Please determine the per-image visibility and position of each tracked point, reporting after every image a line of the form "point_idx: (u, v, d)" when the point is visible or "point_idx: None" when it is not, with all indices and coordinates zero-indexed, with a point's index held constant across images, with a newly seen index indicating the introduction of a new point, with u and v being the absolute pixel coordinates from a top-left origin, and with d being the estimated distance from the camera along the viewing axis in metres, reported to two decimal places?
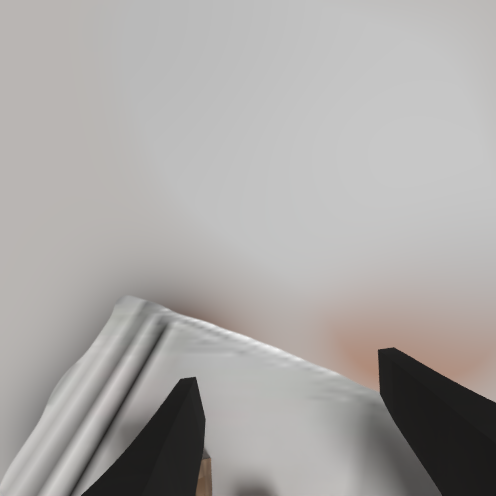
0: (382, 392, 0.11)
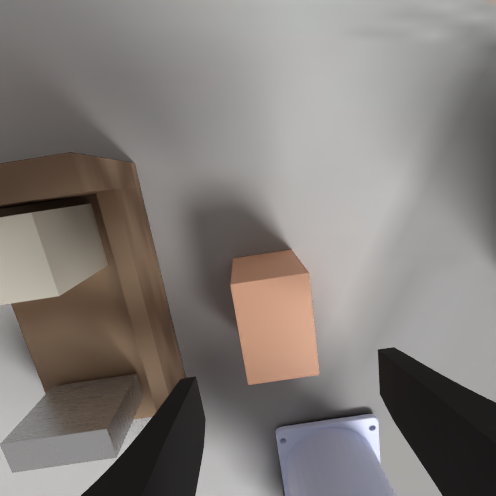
0: (382, 392, 0.11)
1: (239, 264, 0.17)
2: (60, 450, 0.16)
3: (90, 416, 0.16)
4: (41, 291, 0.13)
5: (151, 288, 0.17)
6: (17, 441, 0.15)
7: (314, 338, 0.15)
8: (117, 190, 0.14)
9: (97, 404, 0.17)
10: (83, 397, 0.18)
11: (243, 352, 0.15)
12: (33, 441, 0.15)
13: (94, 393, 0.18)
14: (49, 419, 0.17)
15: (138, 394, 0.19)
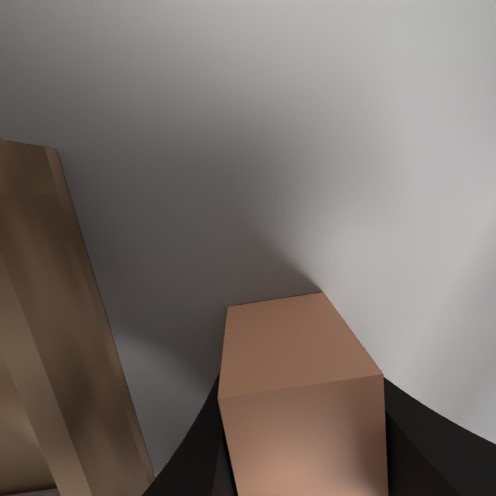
0: None
1: (237, 326, 0.10)
2: None
3: None
4: None
5: (83, 369, 0.10)
6: None
7: (385, 491, 0.08)
8: None
9: None
10: None
11: None
12: None
13: None
14: None
15: None
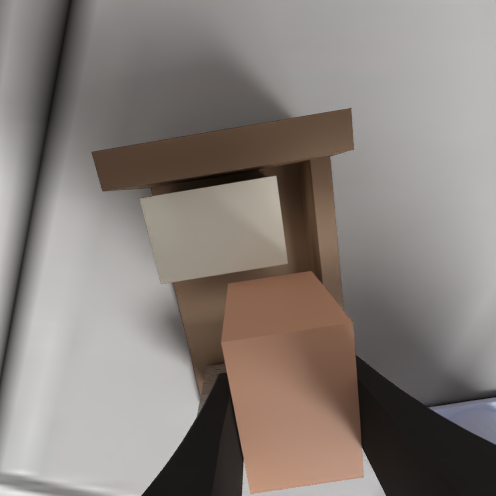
0: None
1: (237, 296, 0.12)
2: None
3: None
4: (270, 258, 0.13)
5: None
6: None
7: (358, 424, 0.09)
8: None
9: None
10: None
11: (243, 446, 0.09)
12: None
13: None
14: None
15: None
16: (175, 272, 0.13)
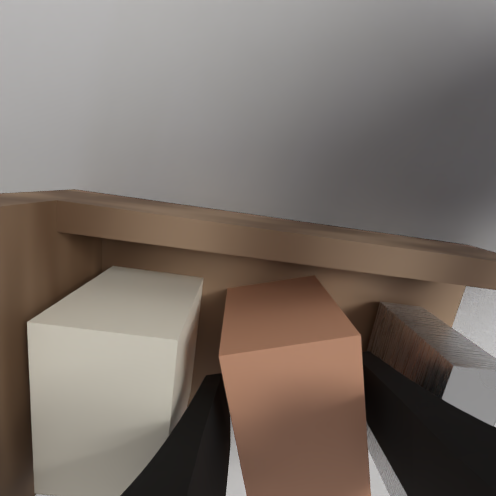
0: None
1: (236, 303, 0.11)
2: None
3: (417, 382, 0.10)
4: (162, 362, 0.08)
5: (247, 220, 0.10)
6: None
7: (365, 441, 0.09)
8: (64, 200, 0.09)
9: (401, 367, 0.11)
10: None
11: (242, 464, 0.09)
12: None
13: None
14: None
15: (414, 310, 0.12)
16: None
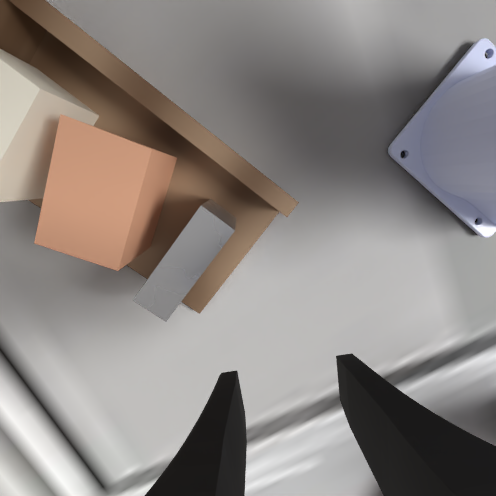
0: (341, 398, 0.11)
1: None
2: (183, 264, 0.14)
3: None
4: (24, 98, 0.12)
5: None
6: (143, 286, 0.14)
7: (128, 227, 0.13)
8: None
9: None
10: None
11: (44, 202, 0.13)
12: (154, 273, 0.14)
13: None
14: None
15: (227, 212, 0.17)
16: None
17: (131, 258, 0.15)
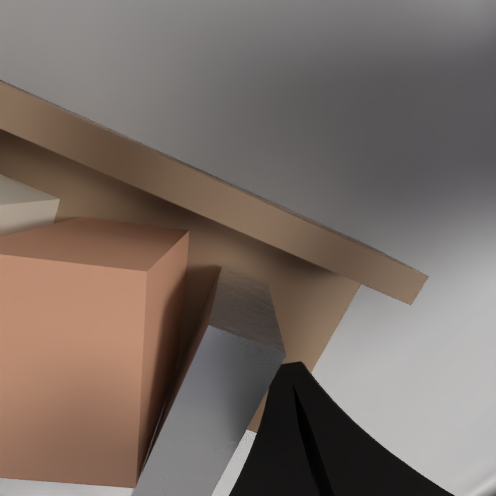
0: None
1: (68, 225, 0.09)
2: (202, 432, 0.07)
3: (193, 349, 0.08)
4: None
5: (104, 128, 0.08)
6: (140, 479, 0.08)
7: (137, 416, 0.07)
8: None
9: (197, 333, 0.09)
10: (187, 352, 0.10)
11: None
12: (153, 457, 0.07)
13: (194, 335, 0.10)
14: (163, 414, 0.09)
15: (253, 283, 0.10)
16: None
17: (154, 429, 0.09)
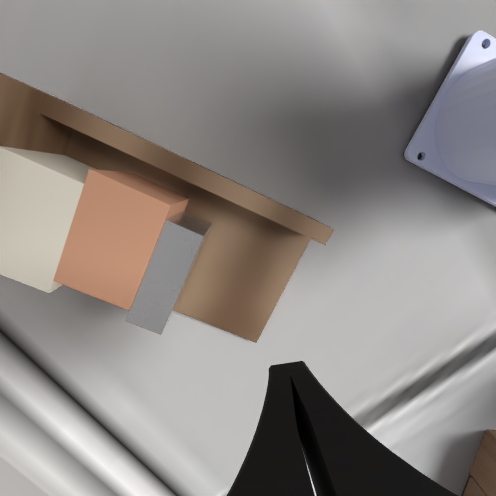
0: None
1: (126, 174, 0.16)
2: (164, 278, 0.14)
3: None
4: (72, 195, 0.13)
5: None
6: (133, 306, 0.15)
7: (142, 272, 0.14)
8: (49, 95, 0.14)
9: None
10: None
11: (66, 245, 0.14)
12: (139, 291, 0.15)
13: None
14: None
15: (201, 219, 0.18)
16: (44, 276, 0.14)
17: None
